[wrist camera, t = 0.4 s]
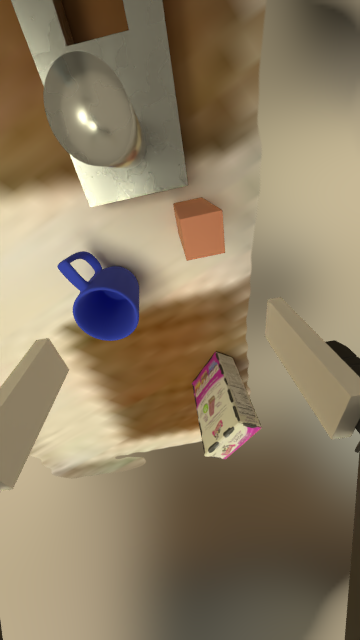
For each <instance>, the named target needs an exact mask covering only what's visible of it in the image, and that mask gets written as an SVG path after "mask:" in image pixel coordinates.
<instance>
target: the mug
mask: <svg viewBox="0 0 360 640" xmlns="http://www.w3.org/2000/svg"><path fill="white" fill-rule="evenodd" d="M76 259H84V260H85V261H87V262H88V263H89V264H90V265H91V266H92V267H93V269H94V270H95V274H94V276H93V277H92V278H91V279H90V281H89V282H87V281H85V280H84V279H83V278H82V277H81V276H80V275H79V274H78V273H77V272H76V270H75V269H74V268H73V267H72V266H71V265H70V263H71V262H72V261H74V260H76ZM58 269H59V270H60V271H61V273H62V274H63V275H64V276H65V277H66V278H67V279H68V280H69V281H70V282H71V283H72V284H73V285H74V286H75V287H76V288H78V289H79V290H80V294H79V295H78V297H77V298H76V300H75V302H74V305H73V315H74V319H75V321H76V323H77V324H78V326H79V327H80V328H81V329H82V330H83V331H84V332H86V333H87V334H89V335H90V336H92V337H95V338H97V339H101V340H109V341H111V340H119V339H122V338H125V337H127V336H128V335H130V334H131V333H132V332H133V331H134V330H135V328H136V327H137V324H138V321H139V285H138V281H137V279H136V277H135V276H134V275H133V274H132V273H131V272H130V271H129V270H127V269H125V268H123V267H119V266H111V267H108V268H105V269H103V270H102V267H101V265H100V263H99V262H98V260H97V259H96V258H95V257H94V256H93V255H92V254H90V253H88V252H78V253H75V254H73V255H71V256H69V257H68V258H66V259H65V260H63V261H62V262H60V263H59V264H58Z"/></svg>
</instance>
